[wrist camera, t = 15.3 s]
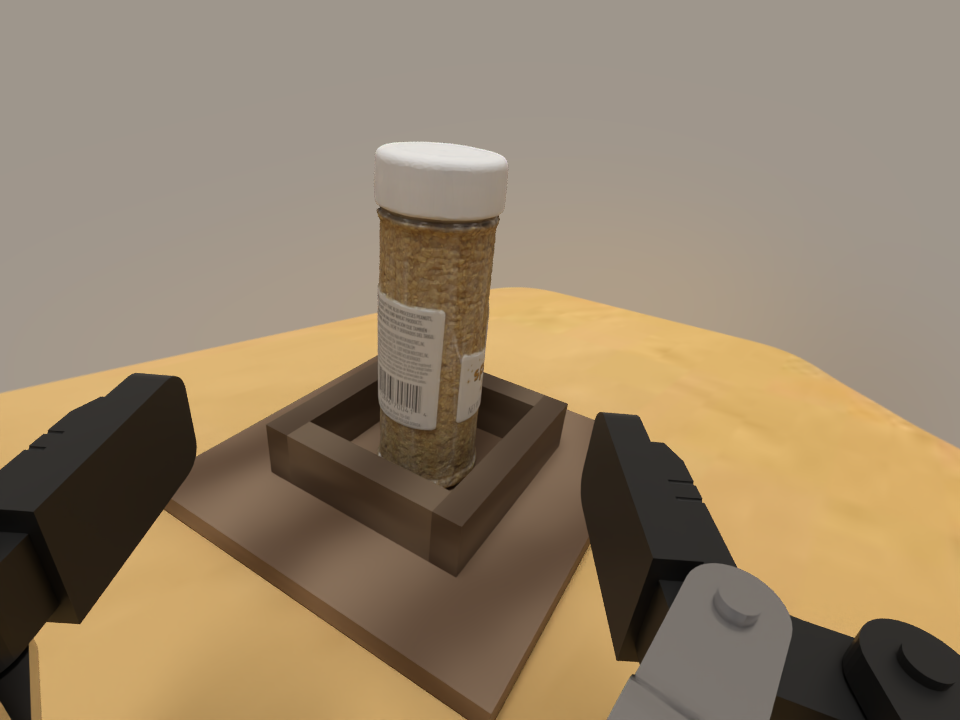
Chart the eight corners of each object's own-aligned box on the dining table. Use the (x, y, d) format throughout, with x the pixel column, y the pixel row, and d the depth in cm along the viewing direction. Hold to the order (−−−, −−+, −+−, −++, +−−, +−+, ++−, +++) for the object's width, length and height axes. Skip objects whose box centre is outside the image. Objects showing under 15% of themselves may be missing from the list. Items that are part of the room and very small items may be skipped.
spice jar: (494, 474, 24) (538, 160, 18) (402, 509, 22) (413, 160, 15) (443, 421, 27) (464, 139, 21) (358, 446, 25) (352, 136, 18)
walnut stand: (153, 501, 22) (135, 433, 20) (396, 358, 35) (397, 308, 33) (487, 733, 16) (501, 661, 14) (638, 453, 28) (654, 397, 26)
